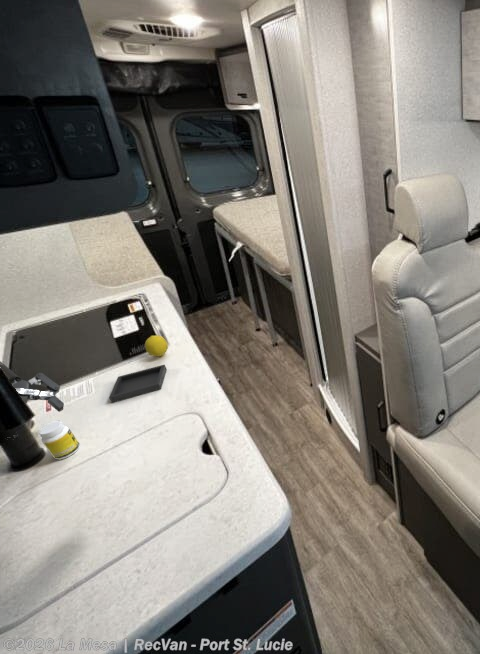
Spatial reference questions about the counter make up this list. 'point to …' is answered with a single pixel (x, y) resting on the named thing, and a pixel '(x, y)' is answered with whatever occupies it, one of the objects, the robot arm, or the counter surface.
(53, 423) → the supplement bottle
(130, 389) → the dock pad
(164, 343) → the lemon
